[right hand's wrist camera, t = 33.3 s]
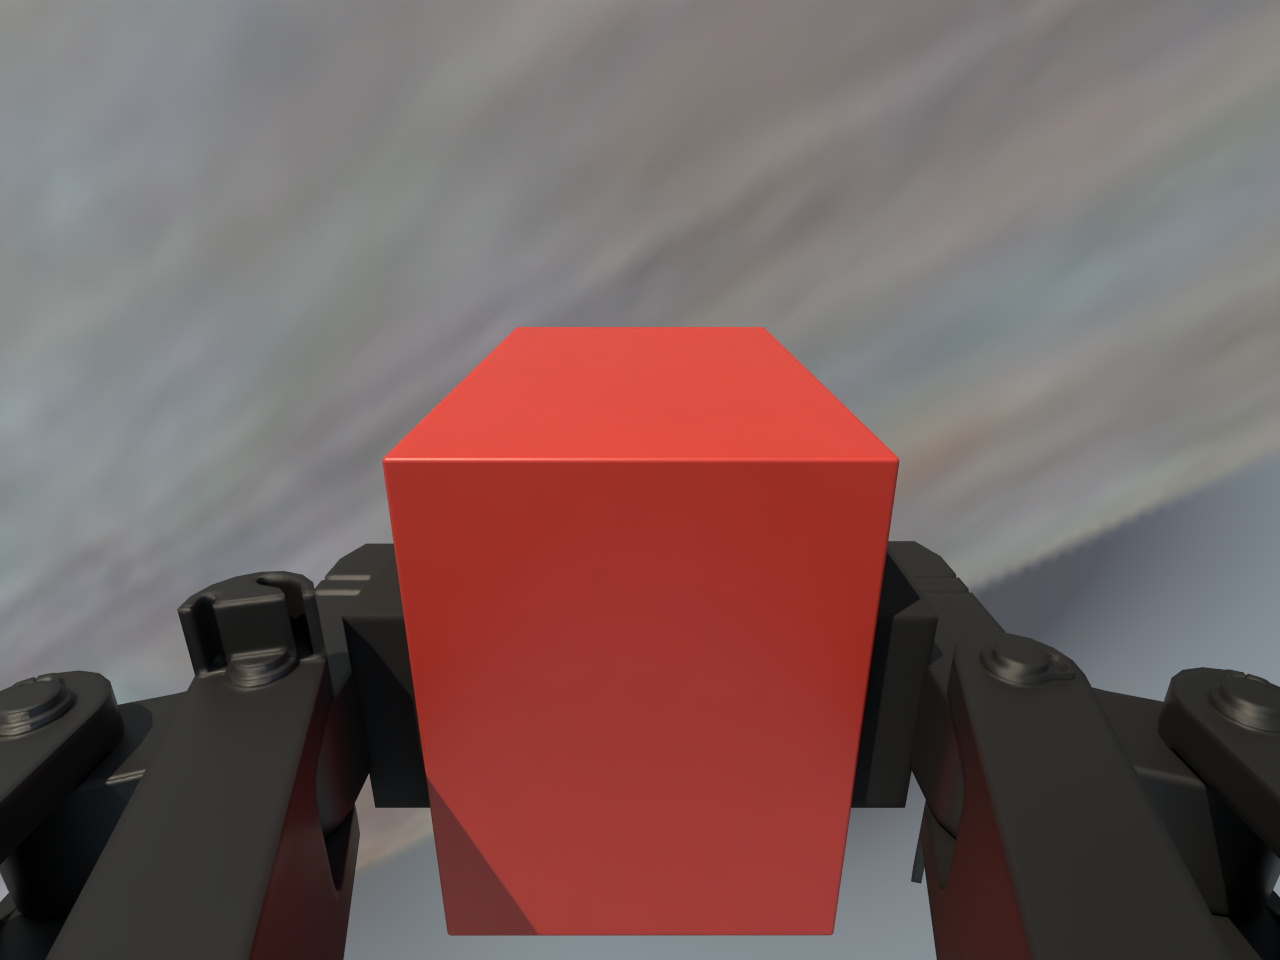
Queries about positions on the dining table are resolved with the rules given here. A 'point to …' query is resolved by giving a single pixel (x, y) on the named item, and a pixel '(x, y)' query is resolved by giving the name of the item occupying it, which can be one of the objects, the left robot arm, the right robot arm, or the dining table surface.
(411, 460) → the brick
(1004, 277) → the dining table surface
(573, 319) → the dining table surface
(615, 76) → the dining table surface
